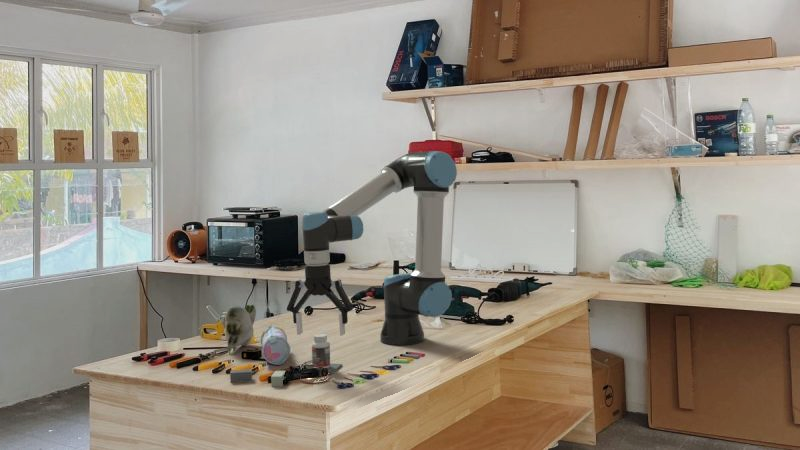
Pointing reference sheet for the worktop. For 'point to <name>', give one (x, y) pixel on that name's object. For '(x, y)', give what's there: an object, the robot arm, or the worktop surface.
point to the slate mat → (333, 368)
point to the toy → (239, 325)
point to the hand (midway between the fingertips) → (321, 334)
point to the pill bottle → (321, 351)
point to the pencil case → (275, 345)
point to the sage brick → (277, 378)
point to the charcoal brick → (241, 375)
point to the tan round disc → (312, 380)
